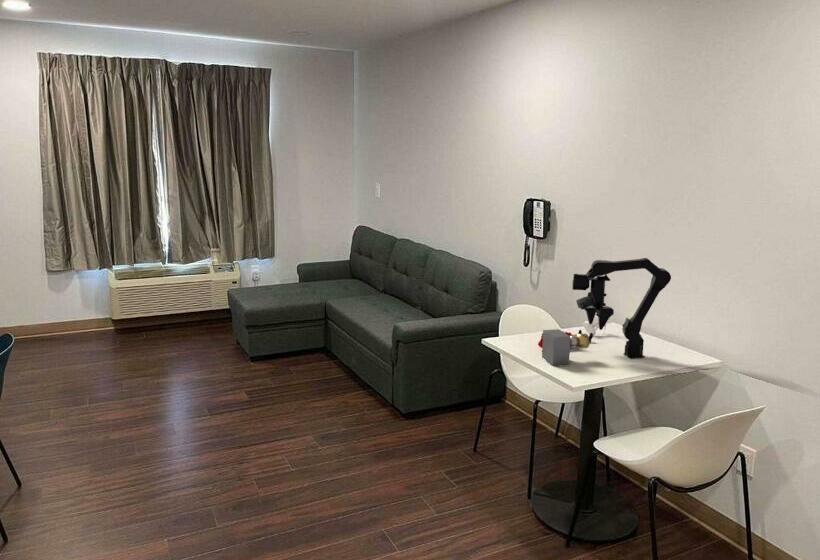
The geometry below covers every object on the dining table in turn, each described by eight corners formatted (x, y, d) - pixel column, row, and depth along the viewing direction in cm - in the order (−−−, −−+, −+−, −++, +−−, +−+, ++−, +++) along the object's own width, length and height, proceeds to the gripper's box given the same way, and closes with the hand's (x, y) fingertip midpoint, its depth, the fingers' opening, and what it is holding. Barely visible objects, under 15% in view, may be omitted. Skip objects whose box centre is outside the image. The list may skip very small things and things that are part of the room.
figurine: (596, 333, 286) (551, 333, 269) (594, 351, 287) (548, 353, 270) (576, 327, 296) (531, 327, 278) (573, 345, 297) (528, 346, 279)
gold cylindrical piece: (582, 345, 266) (583, 331, 265) (589, 349, 260) (589, 335, 259) (564, 346, 265) (565, 332, 263) (570, 351, 259) (571, 336, 258)
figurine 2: (597, 340, 297) (612, 329, 300) (589, 319, 293) (604, 308, 295) (586, 336, 304) (601, 325, 307) (578, 315, 300) (593, 305, 302)
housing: (557, 356, 268) (558, 329, 265) (568, 365, 257) (570, 336, 255) (542, 357, 266) (543, 330, 264) (552, 366, 256) (553, 337, 253)
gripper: (569, 287, 273) (568, 322, 276) (589, 296, 255) (587, 333, 258) (594, 286, 275) (592, 321, 278) (615, 295, 257) (613, 332, 260)
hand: (595, 326), depth 269 cm, fingers open, 9 cm apart
